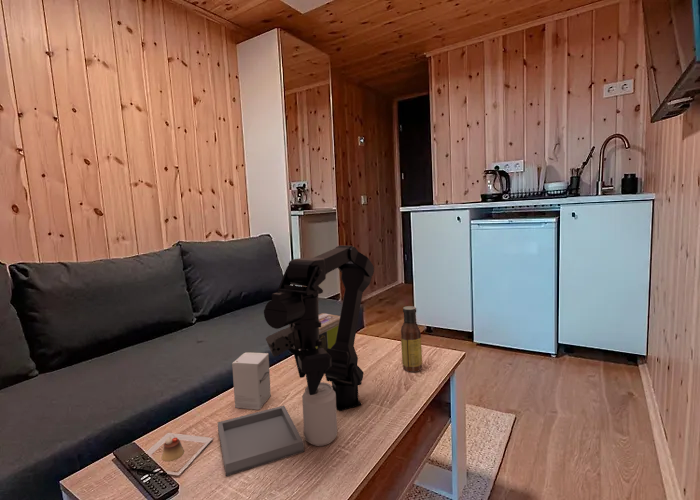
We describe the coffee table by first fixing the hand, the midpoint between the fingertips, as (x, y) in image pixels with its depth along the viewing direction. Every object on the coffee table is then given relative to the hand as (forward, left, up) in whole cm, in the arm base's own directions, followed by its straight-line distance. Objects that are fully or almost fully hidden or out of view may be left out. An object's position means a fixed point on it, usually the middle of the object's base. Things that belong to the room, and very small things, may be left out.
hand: (306, 385), depth 83 cm
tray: (+10, -4, -13) cm, 17 cm away
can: (-2, +1, -13) cm, 13 cm away
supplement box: (+9, -22, -13) cm, 27 cm away
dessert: (+28, -8, -14) cm, 32 cm away
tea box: (-17, -37, -13) cm, 43 cm away
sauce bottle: (-40, -19, -13) cm, 47 cm away
